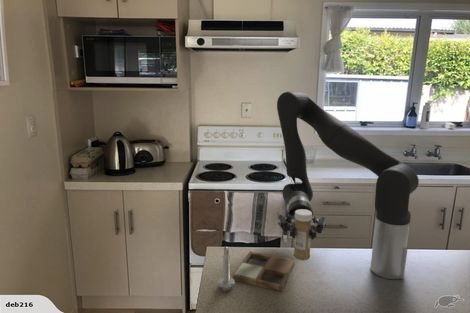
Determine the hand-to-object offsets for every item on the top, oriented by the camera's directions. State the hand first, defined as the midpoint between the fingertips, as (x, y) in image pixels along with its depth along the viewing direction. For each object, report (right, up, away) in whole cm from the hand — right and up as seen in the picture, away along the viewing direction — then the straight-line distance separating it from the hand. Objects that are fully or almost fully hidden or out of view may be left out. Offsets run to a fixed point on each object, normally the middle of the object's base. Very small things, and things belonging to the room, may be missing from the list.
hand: (303, 235), depth 90 cm
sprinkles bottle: (0, -7, +5) cm, 8 cm away
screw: (-21, -17, +6) cm, 27 cm away
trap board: (-9, -14, +14) cm, 22 cm away
